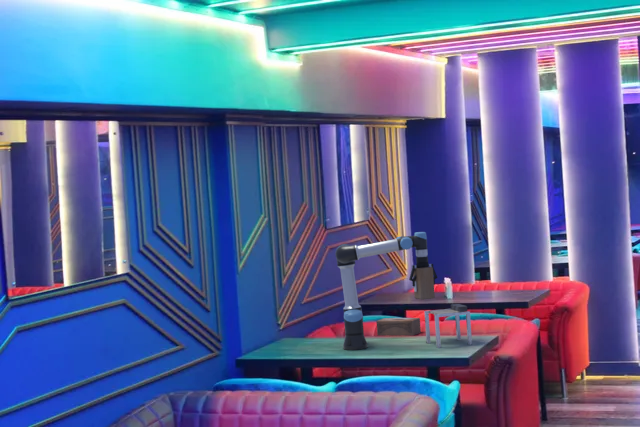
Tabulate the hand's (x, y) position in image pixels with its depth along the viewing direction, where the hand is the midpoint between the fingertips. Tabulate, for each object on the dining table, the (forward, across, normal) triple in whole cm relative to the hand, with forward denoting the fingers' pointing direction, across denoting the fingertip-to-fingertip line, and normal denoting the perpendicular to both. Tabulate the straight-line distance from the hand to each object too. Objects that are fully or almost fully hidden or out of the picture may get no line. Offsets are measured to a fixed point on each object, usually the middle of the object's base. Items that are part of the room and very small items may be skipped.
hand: (424, 290), depth 609 cm
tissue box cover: (+32, -8, +38) cm, 50 cm away
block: (+5, 0, 0) cm, 5 cm away
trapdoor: (+13, +8, -21) cm, 26 cm away
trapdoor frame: (+32, +7, -21) cm, 39 cm away
